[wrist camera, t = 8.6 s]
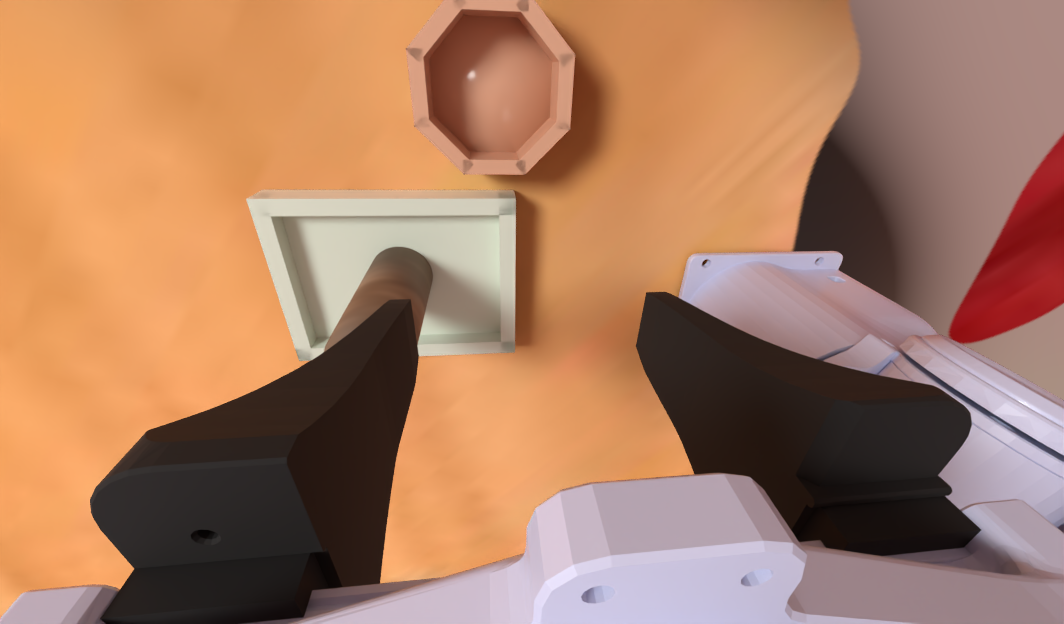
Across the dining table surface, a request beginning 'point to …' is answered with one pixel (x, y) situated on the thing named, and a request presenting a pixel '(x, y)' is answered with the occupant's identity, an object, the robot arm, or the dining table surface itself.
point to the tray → (383, 222)
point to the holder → (491, 84)
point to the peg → (388, 289)
